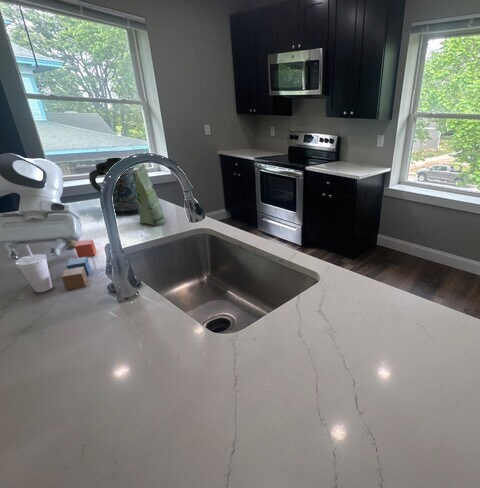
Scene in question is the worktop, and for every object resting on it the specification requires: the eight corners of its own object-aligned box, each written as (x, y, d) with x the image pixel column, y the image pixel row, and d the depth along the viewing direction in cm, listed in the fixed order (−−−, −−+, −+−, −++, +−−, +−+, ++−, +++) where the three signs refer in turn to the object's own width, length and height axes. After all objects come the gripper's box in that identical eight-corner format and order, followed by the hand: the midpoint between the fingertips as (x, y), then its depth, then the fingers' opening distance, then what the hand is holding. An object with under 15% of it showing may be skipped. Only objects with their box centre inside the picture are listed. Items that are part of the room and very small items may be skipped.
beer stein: (156, 208, 150) (145, 157, 139) (118, 220, 134) (103, 164, 123) (134, 203, 156) (122, 154, 145) (95, 214, 140) (78, 159, 129)
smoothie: (45, 295, 83) (25, 250, 77) (22, 294, 83) (0, 249, 77) (63, 283, 88) (46, 240, 82) (42, 282, 88) (23, 239, 82)
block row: (66, 290, 85) (61, 277, 83) (80, 252, 106) (76, 241, 104) (86, 286, 87) (81, 273, 85) (96, 250, 108) (92, 239, 106)
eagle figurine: (46, 243, 108) (52, 246, 103) (53, 224, 109) (59, 226, 104) (72, 248, 114) (79, 251, 109) (78, 230, 115) (86, 232, 110)
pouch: (148, 229, 126) (134, 170, 115) (132, 223, 132) (118, 166, 121) (172, 222, 135) (161, 166, 124) (157, 216, 140) (145, 162, 129)
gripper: (-14, 209, 81) (-23, 257, 77) (75, 205, 87) (71, 249, 83) (3, 218, 87) (-4, 263, 83) (86, 214, 93) (83, 256, 89)
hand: (34, 256), depth 83 cm, fingers open, 8 cm apart
